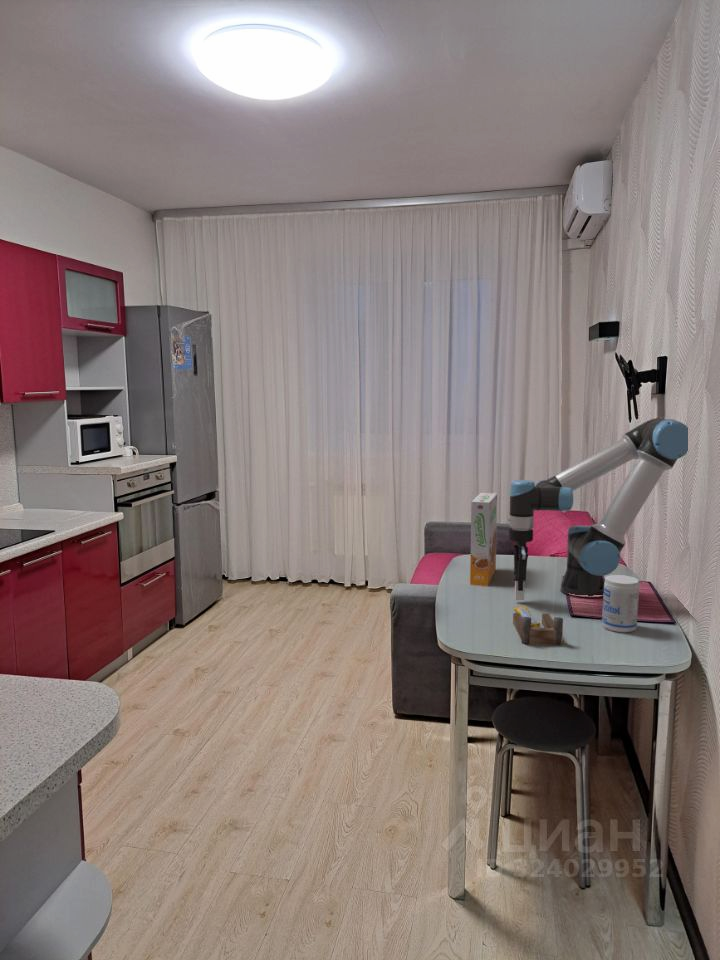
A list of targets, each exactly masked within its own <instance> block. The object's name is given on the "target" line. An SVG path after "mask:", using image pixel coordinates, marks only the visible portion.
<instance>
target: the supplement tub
mask: <svg viewBox="0 0 720 960" xmlns="http://www.w3.org/2000/svg"><path fill="white" fill-rule="evenodd" d="M604 578H605V582H604V595H603V597H602V612H601V613H602V615H601V626H602V627H603V628H605V629H606V630H609V631H611V632H617V633H631V632H634V631H636V629H637V624H638V623H637V622H638V614H639V613H638V610H639V597H640V596H639V595H640V580H639V579H638V578H636V577H633V576H630V575H624V574H623V575H622V574H612V575H610V574H608V575H605V576H604Z"/></svg>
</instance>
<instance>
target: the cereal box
mask: <svg viewBox="0 0 720 960" xmlns="http://www.w3.org/2000/svg"><path fill="white" fill-rule="evenodd" d="M470 511H471V514H470V562H469V563H470V566H469V567H470V570H469V571H470V572H469V573H470V575H469V576H470V577H469V579H470V581H469V585H470V584H471V585H473V586H484V587H488V586H489V585H490V582H491V580H492V579H491V578H493V577H492V576H494V575H495V573H496V571H495V570H496V569H497V567H496V566H497V527H498V526H497V525H498V524H497V523H498V522H497V519H498V517H497V516H498V493H496V492H480V493H479V494H478V495H477V496H475V498H474V499H473V500H472V501H471V509H470ZM494 572H495V573H494ZM493 574H494V575H493Z"/></svg>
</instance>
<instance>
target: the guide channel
mask: <svg viewBox="0 0 720 960" xmlns="http://www.w3.org/2000/svg"><path fill="white" fill-rule="evenodd" d="M512 624H513V626H514V629H515V630H516V632H517V634H518V637H519V638H520V641H521V644H522V645H547V646H549V645H551V646H552V645H553V646H554V645H555V646H556V645H557V646H561V645H562V646H563V634H564V633H563V630H564V629H563V627H564V626H563V625H564V618H563V617H560V616H559V617H558V616H556V617H553V618H552V616H551V615H550V613H541V625H542V626H543V627H531V618H530V617H523V618H522V616H521V614H520V613H517V612H514V613H513V614H512Z"/></svg>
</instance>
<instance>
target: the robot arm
mask: <svg viewBox="0 0 720 960" xmlns="http://www.w3.org/2000/svg"><path fill="white" fill-rule="evenodd" d="M688 428H689V427H688V426H687V425H686V424H684V422H681V421H678V420H676V419H670V418H660V417H658V418H651V419H648V420H647V421H645V422H643V423H641V424H639V425H638V426H635V428H632V429H631V430H628V431H627V432H626V433H624V434H622V436H621V439H619V440H617V441H615V442H613V443H611V444H610V445H608V446H606V447H605V448H602V449H601V450H599V451H596V452H595V453H594V454H592V455H590V456H588V457H586V458H584V459H583V460H580V461H578V462H577V463H575V464H573V465H571V466H570V467H568V468H566V469H564V470H563V471H561V472H559V473H556V474H555V475H553V476H551V477H550V478H548V479H542V480H538V481H537V482H536V483H535V482H534V481H533V480H531V479H530V480H527V479H516V480H513V481H512V482H511V483H510V493H509V517H508V518H507V521H509V529H508V531H509V532H508V539H509V540H510V541H512V542H515V544H513V546H512V547H513V568H514V569H513V570H514V571H513V575H514V578H513V579H514V580H513V581H514V600H515V601H524V600H525V581H527V567H528V557H529V547H528V546H527V543H531V542H532V541H533V540H534V530H533V528H534V524H535V523H534V520H535V519H534V517H535V516H534V514H535V511H553V512H555V511H559V512H564V511H565V512H567V511H570V510H571V509H572V508H573V506H574V492H575V491H576V490H577V489H580V488H581V487H583V486H585V485H587V484H589V483H591V482H593V481H594V480H596V479H598V478H601V477H602V476H604V475H606V474H608V473H610V472H611V471H613V470H615V469H617V468H618V467H619V468H620V467H621V466H623V465H625V464H627V463H628V462H630V461H632V460H636V461H635V462H634V464H633V466H632V468H631V470H630V471H629V472H628V474H627V476H626V478H625V479H624V481H623V482H622V484H621V486H620V487H619V489H618V491H617V493H616V494H615V496H614V497H613V499H612V501H611V502H610V503H609V505H608V507H607V509H606V511H605V513H604V514H603V515H602V517H601V519H600V520H599V522H598V523H595V524H592V525H571V526H569V528H568V531H567V534H566V536H567V548H566V549H567V550H566V551H567V552H566V554H567V555H566V569H565V572H564V575H563V578H562V580H561V582H560V592H562V593H563V594H565V595H567V593H570V594H575V595H588V596H593V595H603V594H604V582H605V576H608V575H610V574H611V573H613V572H614V571H615V570H616V569H617V568H618V566H620V561H621V553H622V550H623V549H624V548H625V545H626V541H625V535H626V534H627V532H628V531H629V529H630V528H631V525H632V523H633V522H634V521H635V519H636V517H638V514H639V512H640V511H641V510H642V508H643V506H644V504H646V502H647V500H648V498H649V496H650V495H651V493H652V491H653V490H654V489H655V487H656V485H657V483H658V482H659V480H660V479H661V478H662V476H663V473H664V472H666V471H667V470H672V468H673V467H674V466H675V464H676V462H677V460H678V459H680V458H682V457H684V456H686V455H687V454H688V453H687V451H688ZM688 452H689V451H688ZM573 491H574V492H573Z"/></svg>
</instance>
